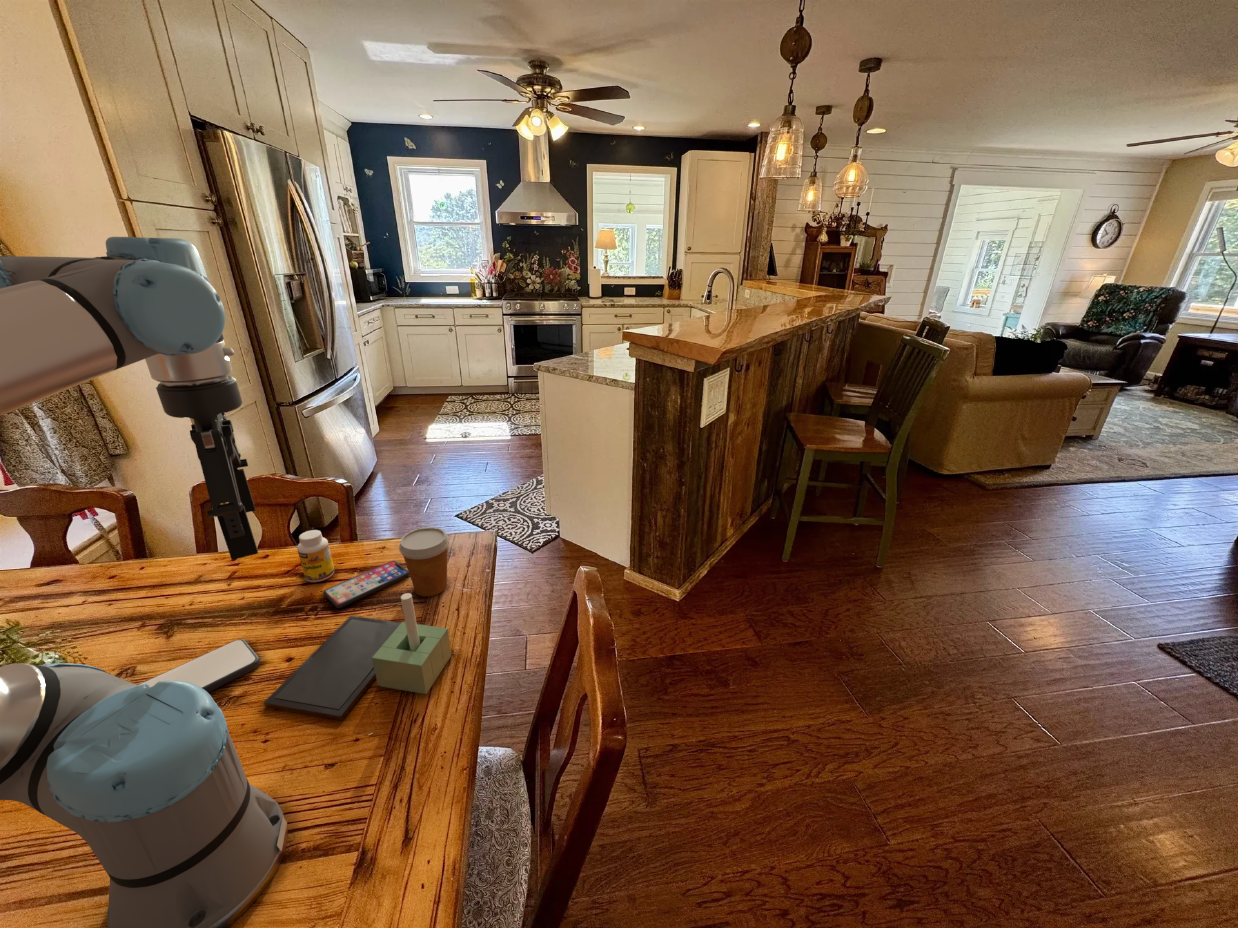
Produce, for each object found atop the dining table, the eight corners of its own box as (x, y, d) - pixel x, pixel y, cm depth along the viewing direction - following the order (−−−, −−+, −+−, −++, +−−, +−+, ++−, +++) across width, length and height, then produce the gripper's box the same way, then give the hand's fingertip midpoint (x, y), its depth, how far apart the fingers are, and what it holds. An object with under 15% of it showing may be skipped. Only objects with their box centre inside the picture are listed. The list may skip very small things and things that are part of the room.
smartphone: (321, 590, 99) (393, 559, 110) (322, 594, 100) (394, 562, 110) (337, 606, 95) (410, 572, 105) (338, 610, 95) (411, 575, 106)
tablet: (341, 721, 73) (340, 715, 73) (265, 707, 75) (263, 701, 74) (415, 628, 91) (414, 624, 91) (351, 619, 93) (350, 614, 93)
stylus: (421, 673, 82) (407, 600, 76) (412, 671, 82) (398, 598, 76) (426, 666, 83) (413, 593, 77) (417, 664, 83) (404, 592, 77)
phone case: (244, 642, 87) (122, 699, 75) (242, 635, 87) (118, 691, 75) (263, 667, 82) (136, 732, 71) (261, 659, 82) (132, 723, 70)
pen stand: (426, 694, 78) (421, 665, 75) (378, 686, 79) (371, 657, 77) (451, 655, 85) (447, 628, 83) (407, 648, 87) (402, 621, 84)
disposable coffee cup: (464, 578, 106) (458, 530, 101) (436, 606, 97) (428, 554, 92) (426, 569, 108) (419, 522, 103) (396, 596, 100) (386, 545, 95)
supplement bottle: (299, 583, 103) (288, 541, 99) (314, 567, 108) (303, 527, 104) (326, 583, 103) (316, 541, 99) (340, 568, 108) (330, 527, 104)
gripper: (233, 398, 52) (283, 567, 60) (235, 358, 70) (272, 491, 78) (137, 409, 48) (204, 588, 56) (166, 363, 66) (213, 503, 74)
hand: (244, 532), depth 67 cm, fingers open, 13 cm apart
